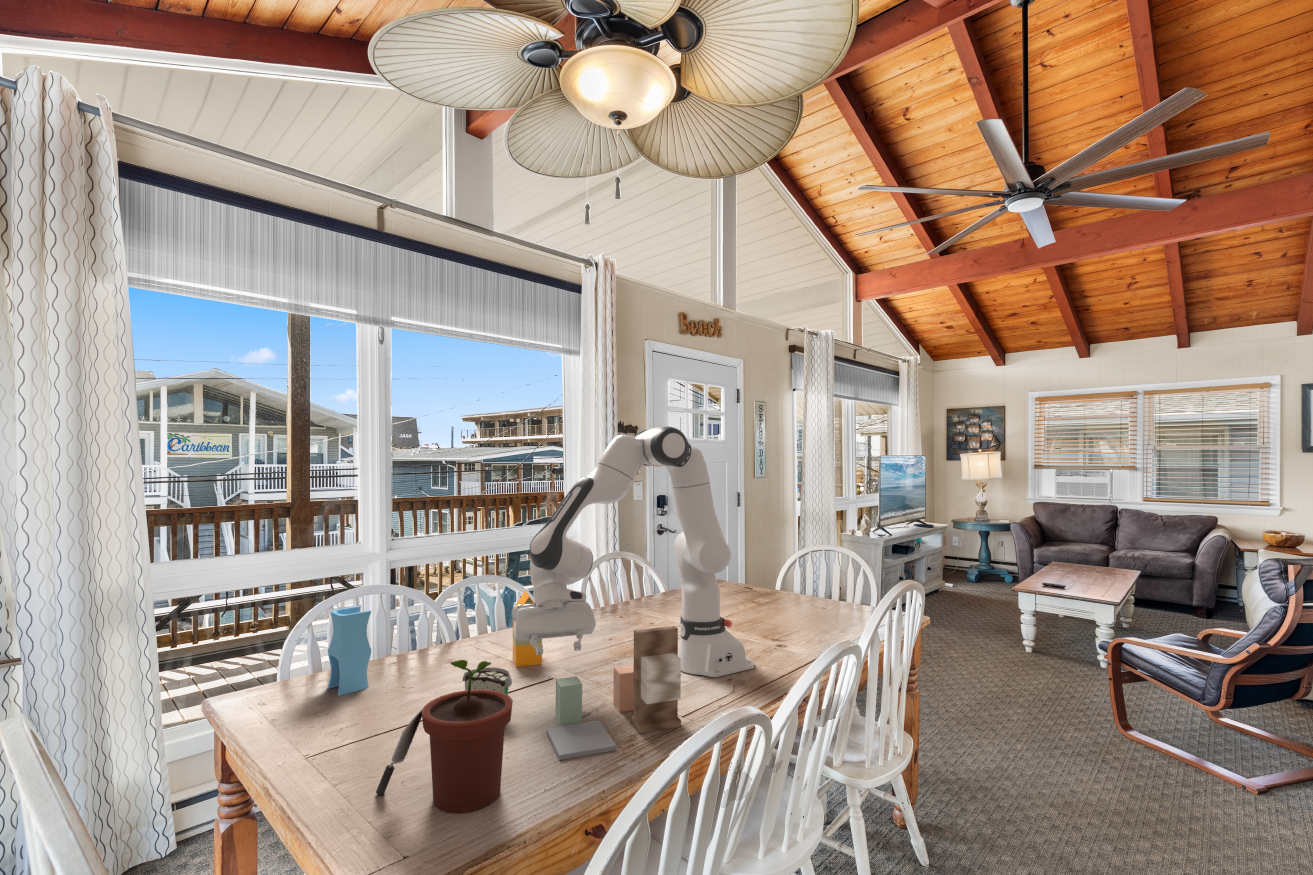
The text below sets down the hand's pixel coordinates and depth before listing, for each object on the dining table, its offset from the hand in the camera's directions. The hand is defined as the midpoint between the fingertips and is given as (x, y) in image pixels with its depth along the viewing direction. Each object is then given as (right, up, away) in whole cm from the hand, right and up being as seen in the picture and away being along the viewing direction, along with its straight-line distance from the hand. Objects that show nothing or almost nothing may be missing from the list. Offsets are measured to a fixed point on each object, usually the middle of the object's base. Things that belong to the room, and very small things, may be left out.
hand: (559, 651), depth 153 cm
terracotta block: (+16, -13, -1) cm, 21 cm away
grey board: (+8, -12, -20) cm, 24 cm away
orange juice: (-15, -14, +32) cm, 38 cm away
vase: (-57, -13, +10) cm, 59 cm away
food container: (-15, -13, -6) cm, 21 cm away
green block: (+4, -13, -9) cm, 16 cm away
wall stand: (+24, -13, -11) cm, 29 cm away
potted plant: (-13, -12, -39) cm, 43 cm away
